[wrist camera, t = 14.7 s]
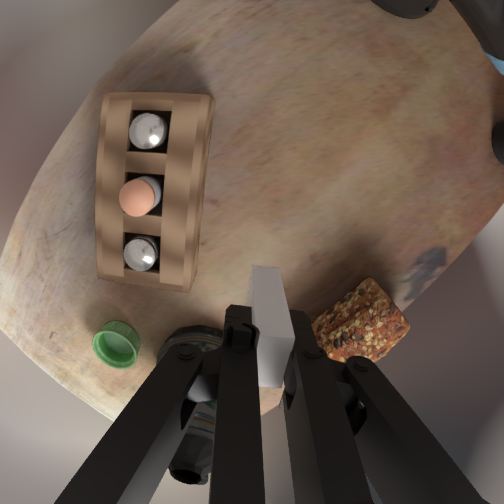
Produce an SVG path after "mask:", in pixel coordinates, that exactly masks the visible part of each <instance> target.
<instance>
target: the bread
mask: <svg viewBox="0 0 504 504" xmlns="http://www.w3.org/2000/svg"><path fill="white" fill-rule="evenodd" d="M311 325H312V328H313V331H314V334H315V338H316V341H317V344H318V346H320V347H321V348H323V349H324V350H325V351H326V353H327V355H328V357H329V358H330V359H333V360H336V361H340V362H344V363H346V360H347V359H348V358H349V357H351V356H358V355H359V356H363V357H366V358H368V359H370V360H371V361H372V362H374V363H375V362H376V361H377V360H379V359H380V358H381V357H383V356H385V355H387V353H388V351H389V350H390V349H391V348H392V347H393V346H394V345H395V344H396V343H398V342H399V341H400V339H401V338H402V337H403V336H405V334H406V333H407V332H408V330H409V329H410V325H409V322H408V321H407V319H406V318H405V317H404V315H403V314H402V313H401V311H400V310H399V309H398V307H397V306H396V305H395V303H394V302H393V301H392V300H391V298H390V297H389V296H388V295H387V294H386V292H385V291H384V290H383V289H382V288H381V287H380V286H379V285H378V284H377V283H376V281H375V280H373V279H372V278H371V277H369V278H367V279H365V280H363V281H362V283H361V284H360V285H359V286H358V287H357V288H355V289H354V290H353V291H352V292H350V293H348V294H347V295H345V296H344V297H343V298H341V300H339V301H338V302H337V303H336V304H334V305H333V306H332V307H331V308H329V309H328V310H327V311H325V312H324V313H323V314H322V315H320V316H319V317H318V318H316V320H315V321H314V322H313V323H311Z"/></svg>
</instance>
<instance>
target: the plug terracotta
mask: <svg viewBox="0 0 504 504" xmlns="http://www.w3.org/2000/svg"><path fill="white" fill-rule="evenodd" d="M163 192H164V180H163V179H162V178H161V177H160V176H159V175H157V174H146V175H144V176H141V177H139V178H136V179H134V180H132V181H129V182H127V183H126V184H125V185H124V186H123V187H122V188H121V190H120V194H119V202H120V205H121V207H122V209H123V210H124V211H125V212H126V213H127V214H129V215H131V216H135V217H138V216H142V215H144V214H146V213H147V212H149V211H150V210H151V209H152V208H154V207H155V206H156V205H157V204H159V203H160V202H161V201H162V200H163Z"/></svg>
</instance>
